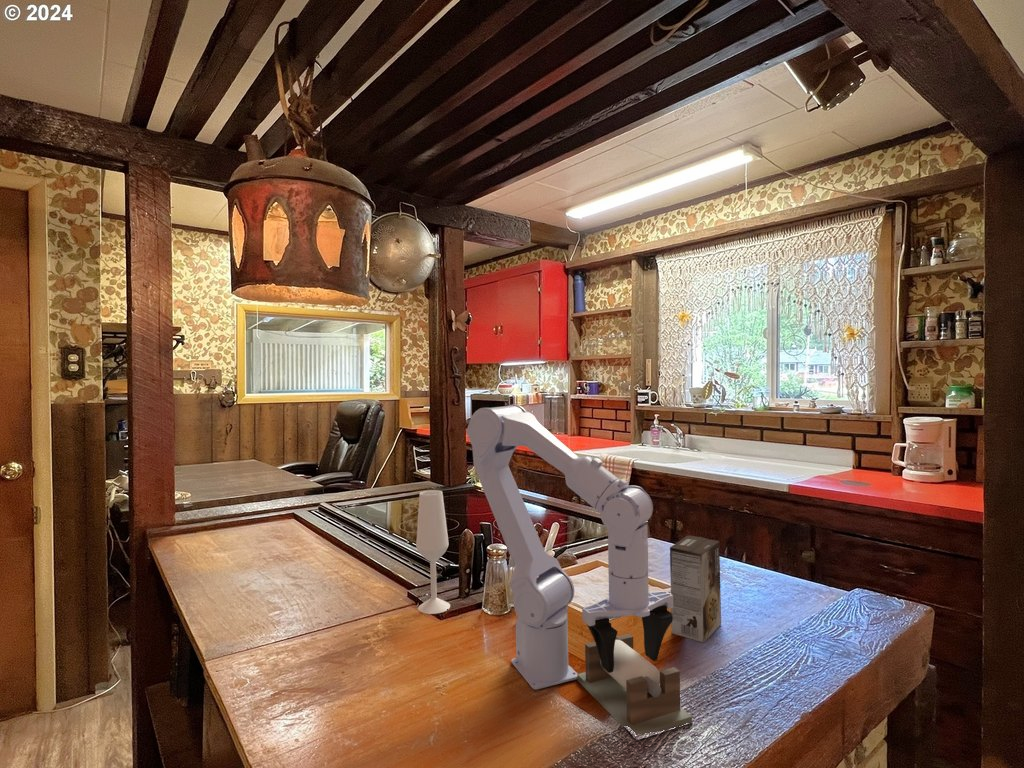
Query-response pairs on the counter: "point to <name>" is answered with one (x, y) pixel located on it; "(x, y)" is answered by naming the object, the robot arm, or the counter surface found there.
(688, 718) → the roll holder
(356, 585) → the counter surface
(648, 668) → the paper roll
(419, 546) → the champagne flute
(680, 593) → the coffee box
